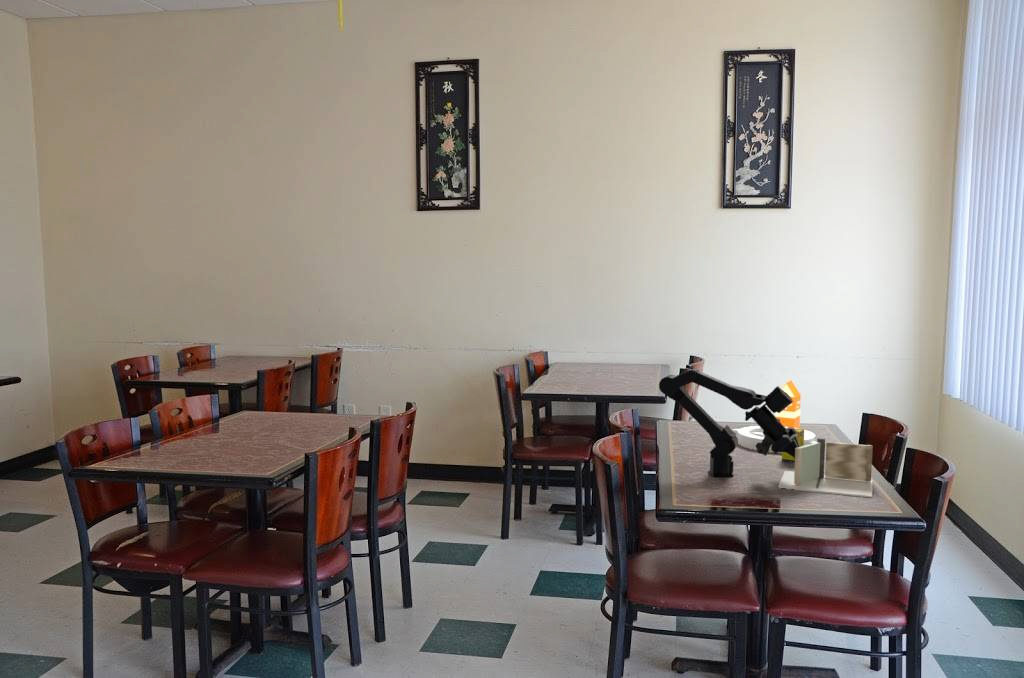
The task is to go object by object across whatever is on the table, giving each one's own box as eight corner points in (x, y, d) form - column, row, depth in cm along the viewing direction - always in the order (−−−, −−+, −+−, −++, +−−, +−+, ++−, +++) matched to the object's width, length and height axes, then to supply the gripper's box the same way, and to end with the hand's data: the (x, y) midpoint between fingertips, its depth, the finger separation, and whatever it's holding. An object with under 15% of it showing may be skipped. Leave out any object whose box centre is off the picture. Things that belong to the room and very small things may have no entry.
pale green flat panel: (793, 483, 266) (794, 448, 265) (814, 476, 275) (816, 441, 274) (798, 485, 265) (799, 449, 264) (820, 477, 274) (821, 442, 273)
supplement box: (803, 460, 301) (804, 429, 300) (798, 463, 296) (799, 432, 295) (786, 457, 305) (787, 427, 304) (781, 461, 300) (782, 430, 299)
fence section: (815, 479, 275) (816, 439, 274) (816, 477, 277) (817, 437, 276) (870, 484, 269) (872, 443, 267) (871, 483, 271) (872, 442, 270)
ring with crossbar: (825, 454, 312) (826, 441, 311) (747, 453, 312) (748, 440, 312) (801, 437, 340) (801, 425, 339) (729, 437, 340) (730, 425, 340)
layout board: (778, 488, 265) (778, 486, 265) (784, 472, 284) (784, 470, 284) (871, 497, 255) (872, 495, 254) (872, 480, 274) (872, 478, 274)
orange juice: (799, 429, 354) (801, 381, 352) (794, 433, 347) (795, 383, 345) (780, 427, 358) (782, 379, 356) (774, 431, 351) (776, 382, 349)
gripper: (753, 433, 285) (786, 470, 281) (744, 443, 268) (779, 483, 264) (779, 411, 281) (813, 449, 277) (771, 421, 264) (807, 461, 260)
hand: (802, 460), depth 270 cm, fingers closed
